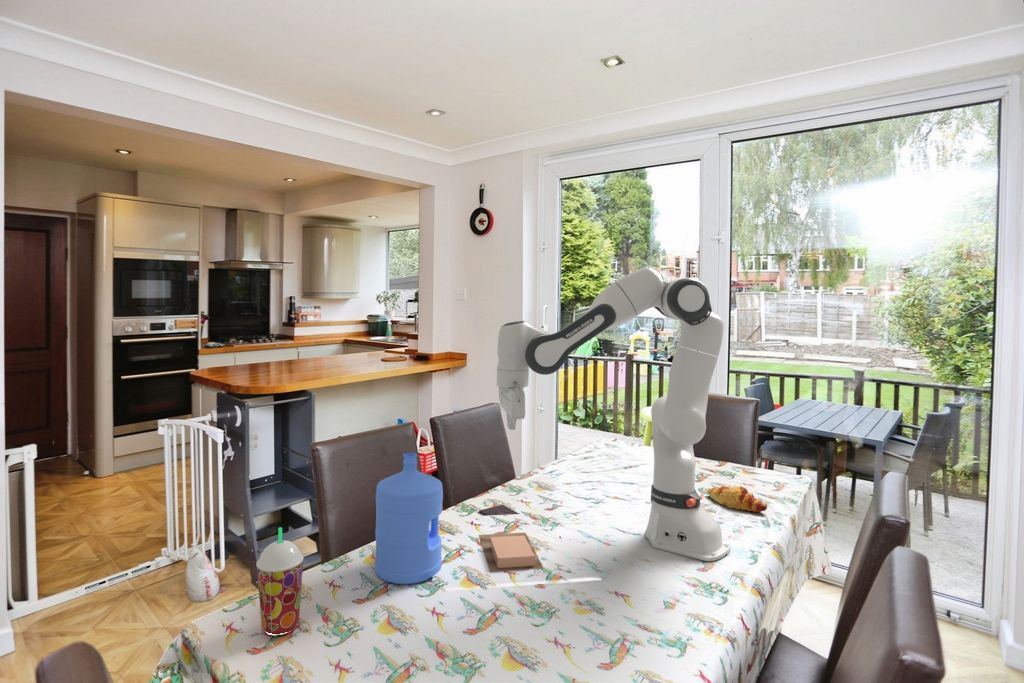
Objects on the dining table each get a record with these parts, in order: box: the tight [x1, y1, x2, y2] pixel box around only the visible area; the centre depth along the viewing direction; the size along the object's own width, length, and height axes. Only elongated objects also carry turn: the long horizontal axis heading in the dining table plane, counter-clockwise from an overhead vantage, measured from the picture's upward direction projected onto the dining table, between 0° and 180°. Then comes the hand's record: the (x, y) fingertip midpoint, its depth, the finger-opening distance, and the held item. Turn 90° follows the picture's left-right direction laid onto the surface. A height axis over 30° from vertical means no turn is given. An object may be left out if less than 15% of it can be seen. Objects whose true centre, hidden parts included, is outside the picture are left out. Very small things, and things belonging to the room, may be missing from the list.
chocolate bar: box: [478, 504, 520, 516], centre depth 166 cm, size 9×1×18 cm
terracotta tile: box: [490, 535, 535, 568], centre depth 139 cm, size 3×9×12 cm
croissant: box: [706, 485, 768, 513], centre depth 182 cm, size 21×10×8 cm, turn 37°
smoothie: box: [255, 527, 304, 634], centre depth 107 cm, size 8×8×20 cm
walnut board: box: [478, 532, 544, 573], centre depth 143 cm, size 21×13×1 cm, turn 11°
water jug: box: [374, 452, 444, 585], centre depth 132 cm, size 16×16×28 cm
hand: (511, 428), depth 155 cm, fingers closed
